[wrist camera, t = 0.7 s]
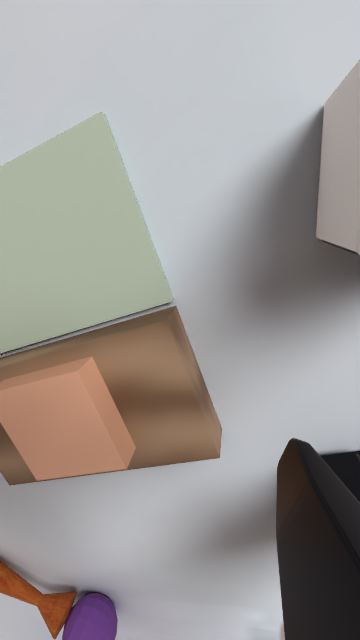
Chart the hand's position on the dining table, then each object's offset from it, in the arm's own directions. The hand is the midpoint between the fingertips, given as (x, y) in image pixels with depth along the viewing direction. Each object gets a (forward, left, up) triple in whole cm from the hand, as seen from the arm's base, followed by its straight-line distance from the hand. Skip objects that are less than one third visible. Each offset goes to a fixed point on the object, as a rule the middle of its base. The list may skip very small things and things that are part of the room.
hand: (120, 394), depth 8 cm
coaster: (-6, +12, -10) cm, 17 cm away
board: (-7, +12, -13) cm, 19 cm away
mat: (+5, +12, -13) cm, 18 cm away
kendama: (-30, +30, -14) cm, 45 cm away
